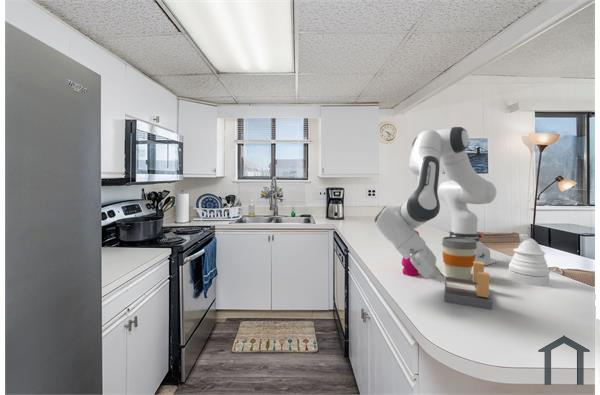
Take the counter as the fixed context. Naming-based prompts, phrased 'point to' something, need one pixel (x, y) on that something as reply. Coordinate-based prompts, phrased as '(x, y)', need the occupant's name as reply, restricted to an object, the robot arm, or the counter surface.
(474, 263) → the slider
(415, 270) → the pepper mill
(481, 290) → the slider
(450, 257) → the reusable coffee cup
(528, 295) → the counter surface
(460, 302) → the switch panel
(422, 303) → the counter surface
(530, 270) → the honey pot
